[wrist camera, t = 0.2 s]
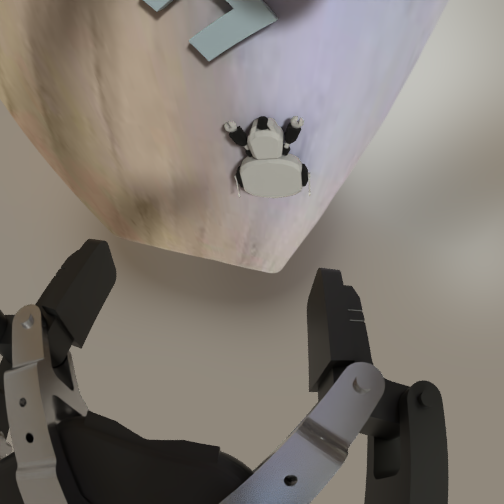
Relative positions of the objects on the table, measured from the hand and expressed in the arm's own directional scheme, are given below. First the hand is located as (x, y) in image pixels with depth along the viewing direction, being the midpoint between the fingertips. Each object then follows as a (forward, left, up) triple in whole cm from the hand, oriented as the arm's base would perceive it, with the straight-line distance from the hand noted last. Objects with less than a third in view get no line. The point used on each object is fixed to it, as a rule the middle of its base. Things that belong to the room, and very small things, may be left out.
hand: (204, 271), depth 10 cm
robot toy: (+16, -11, -31) cm, 37 cm away
